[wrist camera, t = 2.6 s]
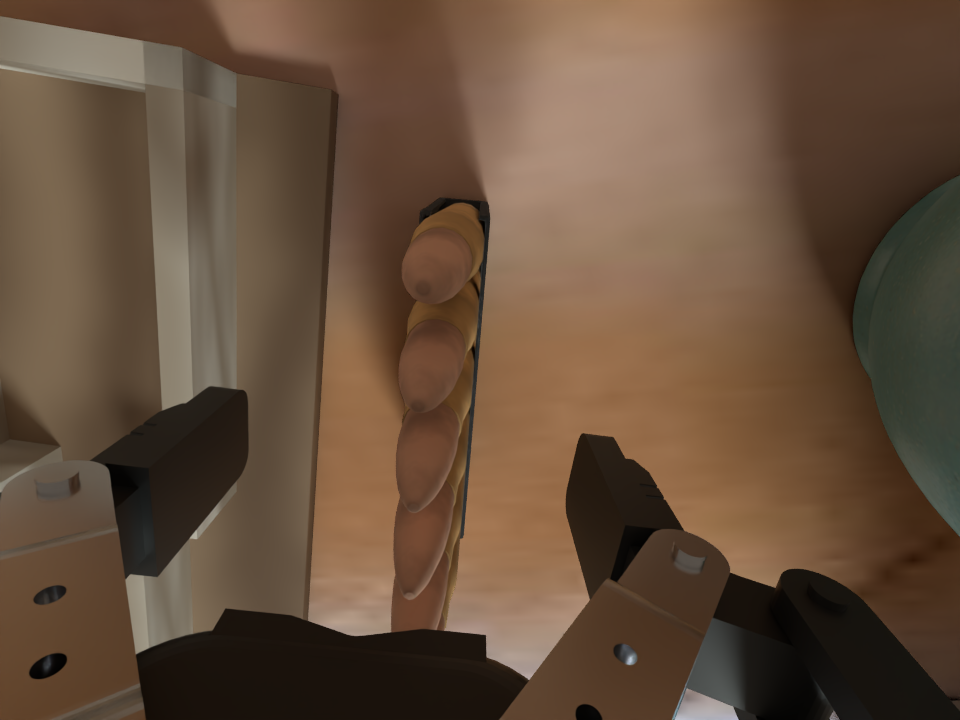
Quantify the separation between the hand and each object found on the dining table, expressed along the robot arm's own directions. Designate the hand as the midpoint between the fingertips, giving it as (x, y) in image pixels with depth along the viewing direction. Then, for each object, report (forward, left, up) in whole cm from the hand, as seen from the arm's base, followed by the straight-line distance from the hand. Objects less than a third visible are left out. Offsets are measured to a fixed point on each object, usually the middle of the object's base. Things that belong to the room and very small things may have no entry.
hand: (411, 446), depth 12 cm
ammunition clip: (-1, 0, -8) cm, 8 cm away
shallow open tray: (+12, +7, -8) cm, 16 cm away
